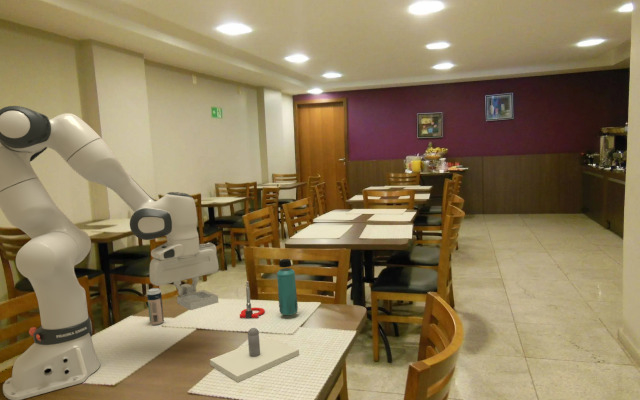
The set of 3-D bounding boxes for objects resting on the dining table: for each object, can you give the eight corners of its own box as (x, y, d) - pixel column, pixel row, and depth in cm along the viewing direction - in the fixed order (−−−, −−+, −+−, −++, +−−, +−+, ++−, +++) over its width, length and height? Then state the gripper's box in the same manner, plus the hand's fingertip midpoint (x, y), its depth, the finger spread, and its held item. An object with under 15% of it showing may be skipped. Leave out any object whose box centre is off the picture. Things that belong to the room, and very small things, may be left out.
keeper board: (237, 382, 112) (235, 347, 111) (210, 364, 122) (207, 333, 121) (299, 354, 125) (297, 323, 124) (269, 341, 136) (267, 312, 135)
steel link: (171, 300, 131) (170, 287, 131) (197, 293, 137) (196, 281, 136) (191, 310, 122) (189, 296, 121) (218, 302, 127) (217, 288, 127)
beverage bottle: (297, 319, 152) (294, 261, 150) (278, 319, 153) (274, 262, 150) (298, 312, 159) (295, 257, 157) (280, 313, 159) (276, 257, 157)
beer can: (167, 321, 157) (164, 288, 155) (155, 326, 153) (152, 292, 151) (158, 319, 159) (155, 287, 158) (146, 324, 155) (143, 290, 154)
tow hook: (245, 310, 165) (237, 318, 156) (243, 275, 164) (235, 282, 155) (267, 310, 164) (260, 318, 155) (265, 275, 163) (258, 282, 154)
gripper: (210, 240, 140) (213, 283, 141) (145, 252, 126) (149, 299, 128) (220, 242, 135) (223, 287, 137) (154, 255, 122) (158, 304, 123)
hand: (187, 293), depth 132 cm, fingers closed on steel link, 2 cm apart
